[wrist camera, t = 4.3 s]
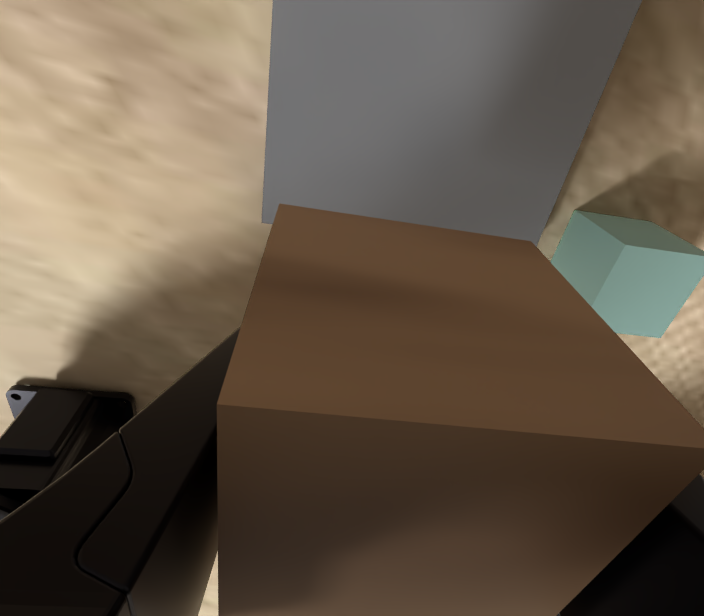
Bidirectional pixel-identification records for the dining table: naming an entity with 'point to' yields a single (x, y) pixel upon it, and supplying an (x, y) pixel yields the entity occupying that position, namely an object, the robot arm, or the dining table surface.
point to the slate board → (435, 106)
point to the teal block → (628, 270)
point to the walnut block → (430, 428)
